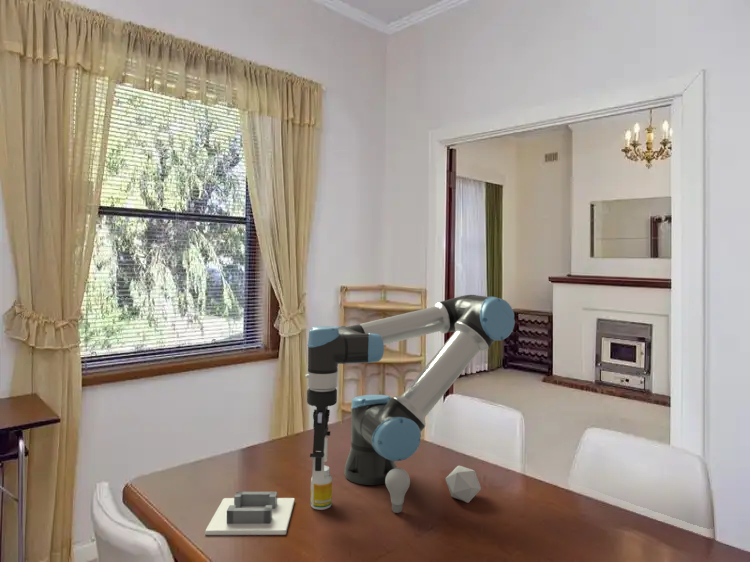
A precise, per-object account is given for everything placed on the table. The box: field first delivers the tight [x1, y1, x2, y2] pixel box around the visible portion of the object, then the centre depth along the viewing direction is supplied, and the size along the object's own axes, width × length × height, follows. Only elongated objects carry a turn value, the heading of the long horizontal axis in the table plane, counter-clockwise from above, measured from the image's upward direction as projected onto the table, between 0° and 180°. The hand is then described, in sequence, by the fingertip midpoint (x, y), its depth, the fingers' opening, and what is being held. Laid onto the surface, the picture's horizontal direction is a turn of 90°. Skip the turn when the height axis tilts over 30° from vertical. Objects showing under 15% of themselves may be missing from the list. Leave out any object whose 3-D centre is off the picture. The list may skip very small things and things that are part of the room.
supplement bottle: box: [310, 464, 333, 511], centre depth 130 cm, size 5×5×10 cm
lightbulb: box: [385, 467, 411, 514], centre depth 127 cm, size 6×6×11 cm
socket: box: [204, 491, 295, 536], centre depth 123 cm, size 18×16×4 cm
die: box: [445, 465, 482, 503], centre depth 135 cm, size 8×9×10 cm
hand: (320, 471), depth 130 cm, fingers open, 13 cm apart
